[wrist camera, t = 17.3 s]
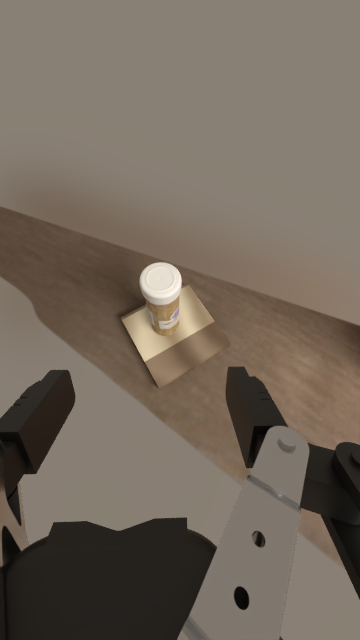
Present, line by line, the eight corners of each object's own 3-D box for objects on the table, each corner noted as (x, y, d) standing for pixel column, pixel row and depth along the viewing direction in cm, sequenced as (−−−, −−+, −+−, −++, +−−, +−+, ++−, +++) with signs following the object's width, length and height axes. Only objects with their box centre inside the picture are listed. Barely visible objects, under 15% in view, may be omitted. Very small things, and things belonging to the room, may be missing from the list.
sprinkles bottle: (174, 340, 35) (174, 302, 22) (147, 332, 35) (132, 290, 22) (182, 315, 36) (186, 266, 24) (156, 307, 37) (147, 255, 24)
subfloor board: (186, 287, 40) (187, 282, 38) (228, 346, 36) (230, 343, 35) (122, 320, 37) (120, 317, 36) (159, 388, 33) (159, 388, 32)
